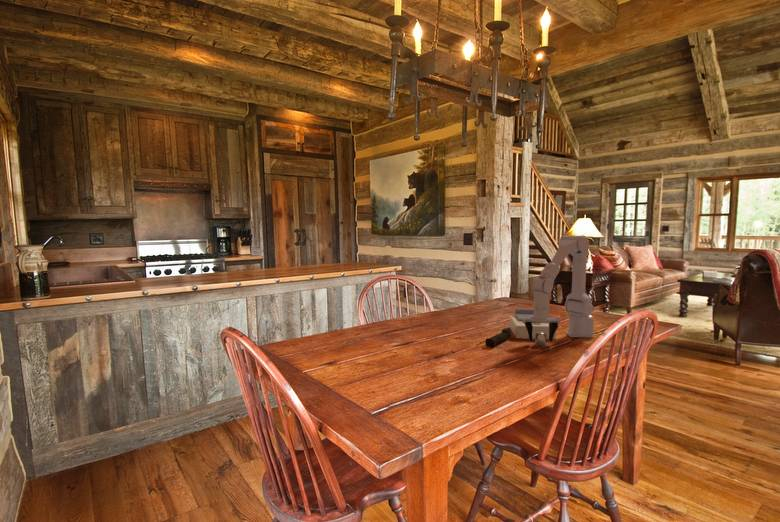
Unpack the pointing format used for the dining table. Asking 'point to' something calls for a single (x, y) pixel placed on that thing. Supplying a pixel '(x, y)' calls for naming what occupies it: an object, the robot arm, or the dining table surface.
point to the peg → (540, 339)
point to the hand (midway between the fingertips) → (540, 340)
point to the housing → (521, 330)
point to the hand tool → (498, 338)
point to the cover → (524, 313)
